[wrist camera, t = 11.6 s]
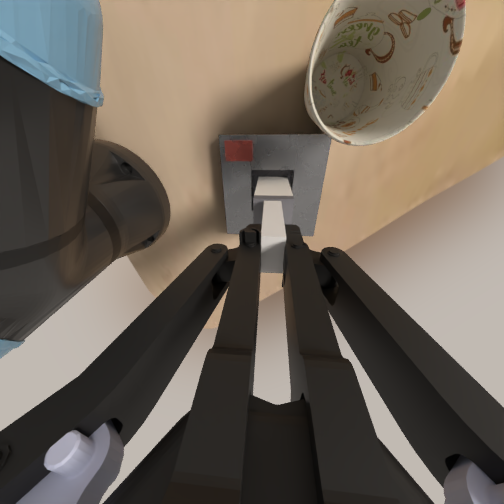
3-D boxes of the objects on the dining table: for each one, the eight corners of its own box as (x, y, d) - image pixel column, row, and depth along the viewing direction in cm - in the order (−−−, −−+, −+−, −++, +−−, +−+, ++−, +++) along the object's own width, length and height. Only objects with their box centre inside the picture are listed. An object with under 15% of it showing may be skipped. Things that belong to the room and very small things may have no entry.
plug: (258, 204, 27) (253, 234, 19) (258, 176, 25) (253, 198, 17) (284, 204, 26) (290, 235, 19) (287, 176, 24) (294, 199, 17)
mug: (276, 100, 20) (279, 82, 12) (389, -66, 15) (546, -322, 6) (328, 155, 23) (361, 171, 15) (443, 31, 17) (610, -60, 9)
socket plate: (229, 227, 29) (226, 235, 27) (222, 134, 23) (217, 135, 20) (310, 229, 28) (314, 238, 26) (327, 133, 22) (333, 134, 20)
